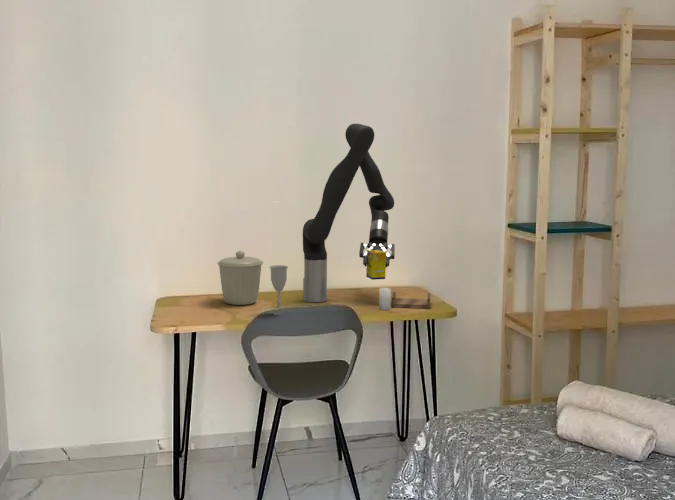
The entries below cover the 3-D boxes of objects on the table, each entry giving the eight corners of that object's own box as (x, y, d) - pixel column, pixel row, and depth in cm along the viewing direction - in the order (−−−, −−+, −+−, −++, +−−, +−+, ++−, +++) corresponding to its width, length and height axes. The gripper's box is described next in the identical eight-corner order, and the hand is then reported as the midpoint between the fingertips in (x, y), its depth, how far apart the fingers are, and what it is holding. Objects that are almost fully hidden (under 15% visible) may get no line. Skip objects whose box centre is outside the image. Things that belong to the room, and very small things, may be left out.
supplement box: (365, 277, 305) (366, 250, 303) (379, 276, 307) (380, 249, 305) (371, 279, 299) (372, 252, 297) (385, 279, 301) (386, 251, 300)
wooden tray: (391, 307, 298) (391, 297, 298) (392, 301, 309) (393, 292, 308) (430, 308, 296) (430, 298, 296) (430, 302, 307) (430, 293, 307)
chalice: (290, 315, 284) (290, 267, 281) (273, 316, 281) (272, 268, 279) (284, 311, 290) (284, 264, 288) (267, 312, 288) (267, 265, 285)
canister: (260, 297, 315) (260, 247, 312) (265, 306, 298) (265, 253, 295) (216, 298, 312) (215, 248, 309) (219, 308, 294) (218, 254, 291)
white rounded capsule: (378, 309, 294) (379, 289, 293) (379, 307, 298) (379, 287, 297) (390, 310, 294) (390, 289, 292) (390, 307, 298) (391, 287, 297)
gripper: (361, 227, 308) (357, 259, 299) (396, 228, 307) (394, 261, 297) (361, 238, 314) (358, 270, 305) (396, 239, 313) (394, 272, 303)
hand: (376, 265), depth 301 cm, fingers closed on supplement box, 8 cm apart
